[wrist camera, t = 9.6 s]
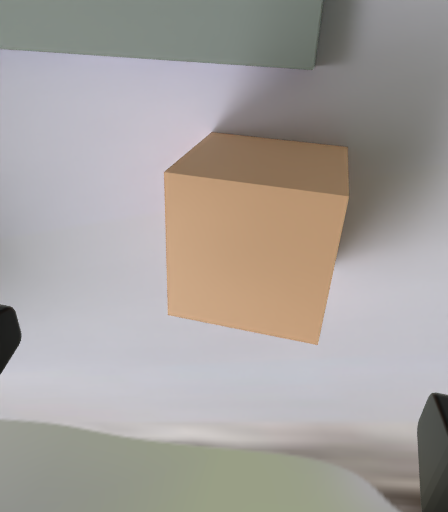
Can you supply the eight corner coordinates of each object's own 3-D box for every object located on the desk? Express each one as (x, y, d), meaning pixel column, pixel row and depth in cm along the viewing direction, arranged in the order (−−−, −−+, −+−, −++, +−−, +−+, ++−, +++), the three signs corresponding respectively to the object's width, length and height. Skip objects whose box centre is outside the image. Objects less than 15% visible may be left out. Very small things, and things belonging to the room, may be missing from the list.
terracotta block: (324, 265, 17) (317, 344, 13) (208, 246, 18) (167, 314, 14) (347, 146, 15) (349, 196, 10) (212, 131, 16) (164, 171, 11)
